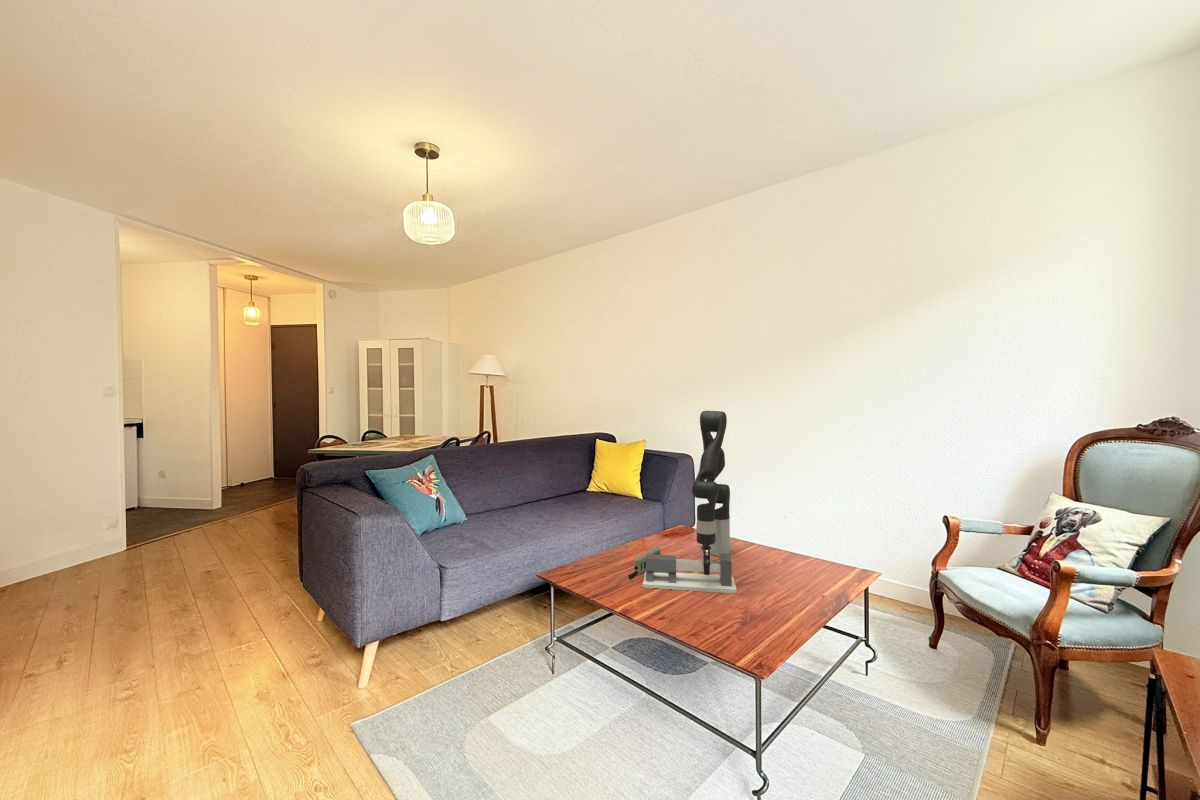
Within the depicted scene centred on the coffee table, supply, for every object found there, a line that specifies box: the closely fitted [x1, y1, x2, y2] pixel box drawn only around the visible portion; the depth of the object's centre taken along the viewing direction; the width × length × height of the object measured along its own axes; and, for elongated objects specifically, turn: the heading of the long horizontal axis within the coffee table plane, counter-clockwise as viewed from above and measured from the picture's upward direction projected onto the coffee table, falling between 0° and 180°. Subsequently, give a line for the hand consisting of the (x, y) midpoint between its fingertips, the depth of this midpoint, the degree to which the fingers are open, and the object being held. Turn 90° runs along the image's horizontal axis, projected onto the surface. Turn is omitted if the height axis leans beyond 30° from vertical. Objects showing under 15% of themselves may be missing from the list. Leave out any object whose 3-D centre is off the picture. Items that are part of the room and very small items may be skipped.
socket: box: [719, 553, 733, 586], centre depth 190 cm, size 8×4×10 cm, turn 170°
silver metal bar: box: [676, 558, 721, 574], centre depth 192 cm, size 3×24×3 cm, turn 80°
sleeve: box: [645, 554, 677, 583], centre depth 195 cm, size 8×12×9 cm, turn 80°
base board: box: [642, 571, 738, 594], centre depth 193 cm, size 14×36×2 cm, turn 80°
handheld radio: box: [628, 547, 661, 579], centre depth 208 cm, size 7×3×25 cm
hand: (706, 570), depth 192 cm, fingers open, 8 cm apart
